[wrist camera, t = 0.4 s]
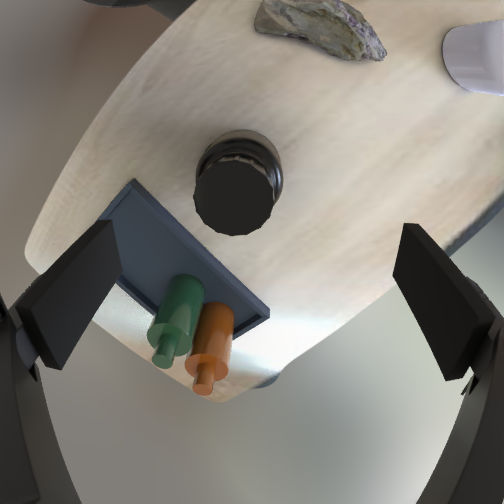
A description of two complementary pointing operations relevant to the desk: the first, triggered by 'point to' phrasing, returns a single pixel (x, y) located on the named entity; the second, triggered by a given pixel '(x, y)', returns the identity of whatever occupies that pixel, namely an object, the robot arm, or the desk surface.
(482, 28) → the soap bottle
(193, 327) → the green bottle
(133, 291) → the tray
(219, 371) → the amber bottle
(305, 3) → the mineral rock
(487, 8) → the desk surface
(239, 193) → the ink bottle
